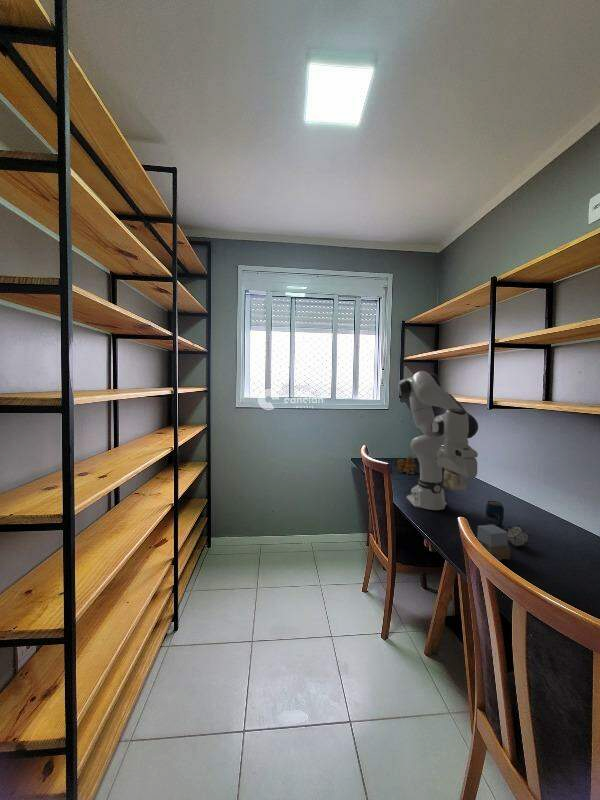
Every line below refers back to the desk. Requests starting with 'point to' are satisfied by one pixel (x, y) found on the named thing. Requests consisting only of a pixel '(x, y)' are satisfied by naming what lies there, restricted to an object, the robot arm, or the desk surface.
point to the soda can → (494, 514)
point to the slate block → (492, 535)
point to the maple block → (453, 481)
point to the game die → (517, 536)
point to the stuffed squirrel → (406, 465)
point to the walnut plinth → (498, 551)
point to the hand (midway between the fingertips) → (454, 482)
